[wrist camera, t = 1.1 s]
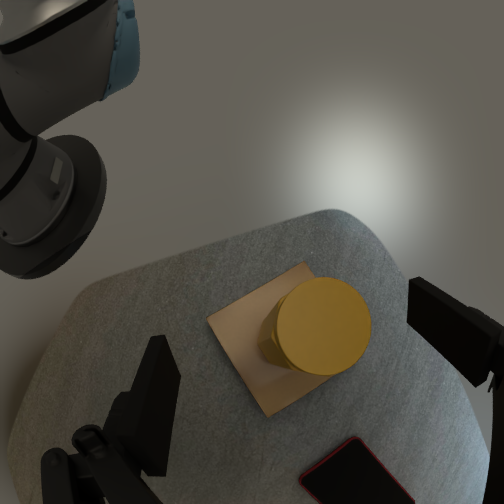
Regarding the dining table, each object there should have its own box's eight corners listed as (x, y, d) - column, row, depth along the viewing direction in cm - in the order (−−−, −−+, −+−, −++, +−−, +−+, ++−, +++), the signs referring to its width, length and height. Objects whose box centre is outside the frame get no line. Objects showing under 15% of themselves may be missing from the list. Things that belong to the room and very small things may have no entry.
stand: (208, 321, 27) (197, 309, 19) (297, 269, 29) (318, 239, 21) (264, 411, 24) (275, 433, 16) (351, 353, 26) (391, 351, 19)
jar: (248, 329, 24) (257, 309, 13) (296, 299, 25) (337, 259, 14) (278, 377, 22) (311, 395, 12) (326, 346, 23) (387, 337, 13)
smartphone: (356, 433, 22) (417, 503, 19) (353, 431, 23) (414, 501, 20) (295, 480, 21) (368, 543, 17) (294, 477, 22) (365, 540, 18)
